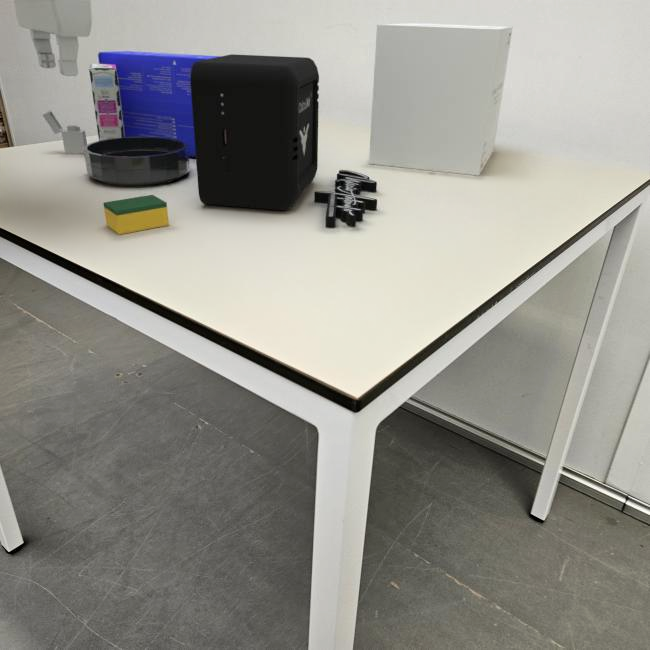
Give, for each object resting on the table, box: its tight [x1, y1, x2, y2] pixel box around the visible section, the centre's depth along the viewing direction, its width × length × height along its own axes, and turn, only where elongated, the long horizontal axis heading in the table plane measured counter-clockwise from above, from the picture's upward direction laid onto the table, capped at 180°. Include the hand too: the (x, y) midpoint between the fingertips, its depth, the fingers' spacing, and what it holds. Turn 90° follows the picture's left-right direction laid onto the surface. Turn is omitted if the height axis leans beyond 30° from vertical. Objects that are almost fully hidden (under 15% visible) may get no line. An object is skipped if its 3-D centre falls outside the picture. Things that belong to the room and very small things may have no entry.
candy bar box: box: [88, 63, 125, 141], centre depth 116 cm, size 11×5×16 cm, turn 18°
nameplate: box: [313, 169, 378, 229], centre depth 95 cm, size 28×2×10 cm
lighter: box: [42, 110, 88, 155], centre depth 119 cm, size 7×2×8 cm, turn 96°
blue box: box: [97, 50, 222, 159], centre depth 119 cm, size 39×8×18 cm, turn 63°
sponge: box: [102, 194, 170, 235], centre depth 82 cm, size 7×5×3 cm, turn 128°
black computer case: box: [190, 53, 320, 211], centre depth 93 cm, size 20×15×20 cm
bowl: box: [83, 137, 191, 187], centre depth 105 cm, size 17×17×5 cm
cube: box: [368, 22, 513, 176], centre depth 120 cm, size 25×21×24 cm
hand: (58, 71), depth 78 cm, fingers open, 8 cm apart
